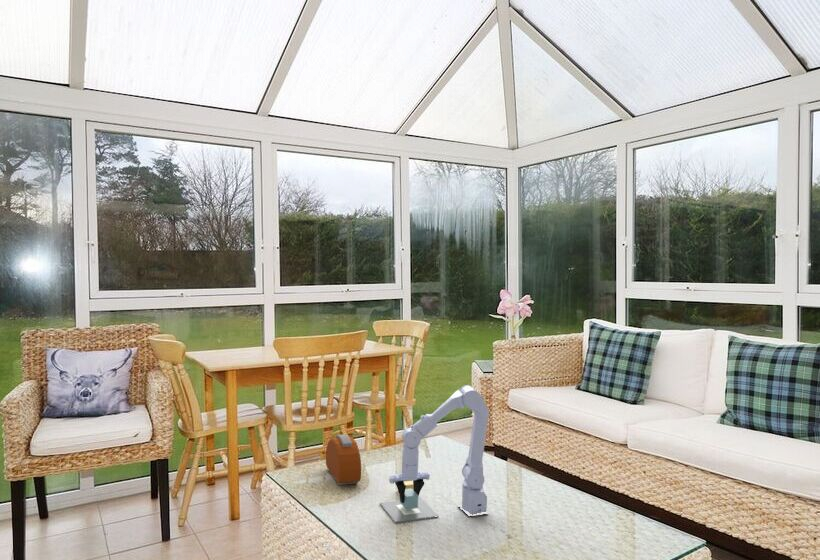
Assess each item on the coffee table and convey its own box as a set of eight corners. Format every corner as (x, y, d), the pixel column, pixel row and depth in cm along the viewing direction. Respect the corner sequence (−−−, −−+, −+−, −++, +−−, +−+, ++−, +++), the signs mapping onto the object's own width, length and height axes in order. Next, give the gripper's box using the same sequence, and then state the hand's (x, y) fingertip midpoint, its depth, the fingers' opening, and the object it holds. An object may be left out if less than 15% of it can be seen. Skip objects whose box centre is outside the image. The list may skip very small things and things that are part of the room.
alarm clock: (361, 486, 223) (362, 443, 222) (338, 488, 219) (340, 445, 219) (345, 466, 244) (346, 427, 244) (324, 468, 241) (326, 428, 241)
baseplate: (438, 517, 197) (438, 515, 197) (394, 523, 191) (395, 521, 191) (420, 499, 212) (420, 497, 212) (379, 504, 206) (379, 502, 206)
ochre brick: (414, 495, 215) (415, 484, 215) (404, 497, 214) (404, 485, 213) (408, 489, 221) (409, 478, 221) (397, 490, 219) (398, 479, 219)
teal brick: (417, 507, 199) (418, 495, 199) (406, 509, 198) (406, 496, 198) (411, 500, 205) (411, 488, 205) (399, 502, 204) (400, 489, 204)
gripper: (424, 457, 208) (423, 494, 208) (387, 461, 202) (385, 498, 203) (432, 463, 201) (431, 502, 201) (393, 467, 196) (392, 507, 196)
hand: (408, 501), depth 201 cm, fingers closed on teal brick, 4 cm apart
